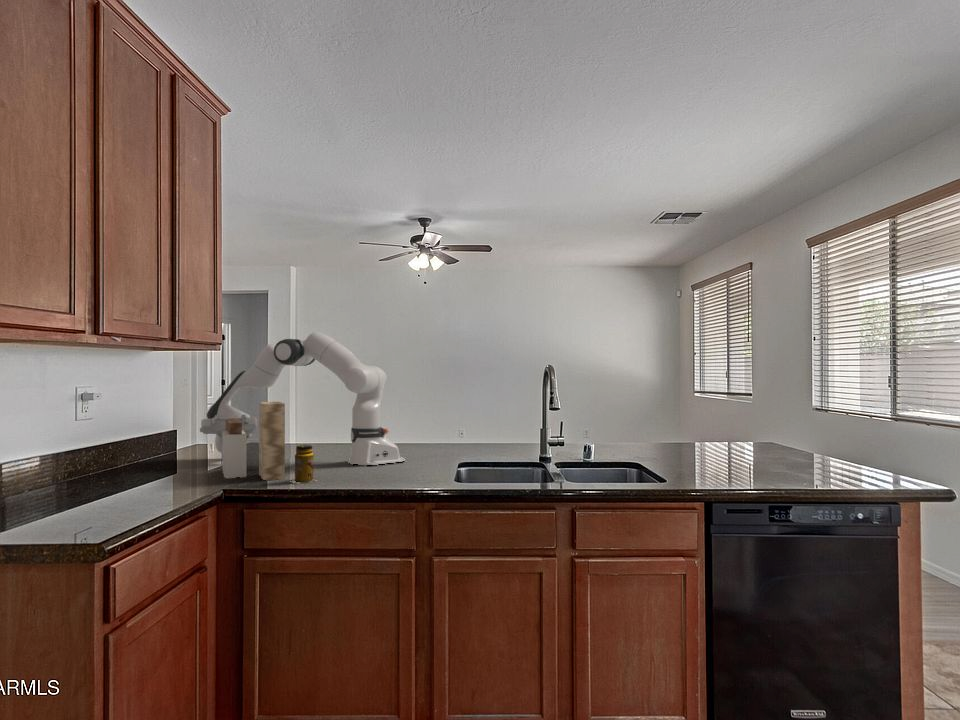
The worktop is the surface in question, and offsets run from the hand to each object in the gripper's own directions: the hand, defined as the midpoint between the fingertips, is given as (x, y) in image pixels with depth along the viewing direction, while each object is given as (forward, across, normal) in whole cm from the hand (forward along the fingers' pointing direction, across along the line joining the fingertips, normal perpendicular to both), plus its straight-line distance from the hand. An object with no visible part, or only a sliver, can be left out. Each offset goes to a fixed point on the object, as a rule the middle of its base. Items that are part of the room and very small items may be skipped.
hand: (230, 416), depth 230 cm
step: (+4, 0, +25) cm, 25 cm away
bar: (+8, 0, +10) cm, 13 cm away
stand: (+13, +12, +30) cm, 35 cm away
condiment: (+25, +20, +37) cm, 49 cm away
